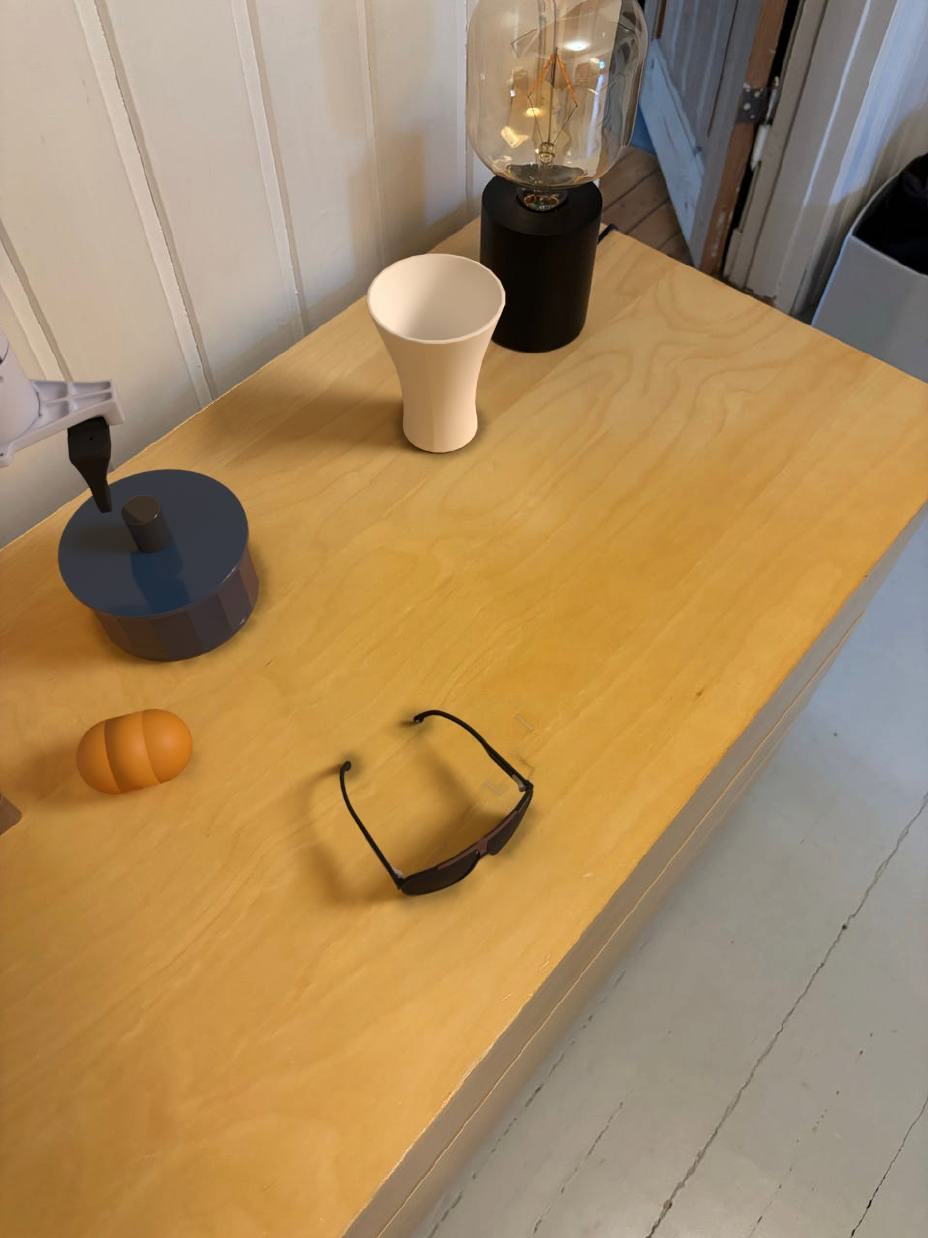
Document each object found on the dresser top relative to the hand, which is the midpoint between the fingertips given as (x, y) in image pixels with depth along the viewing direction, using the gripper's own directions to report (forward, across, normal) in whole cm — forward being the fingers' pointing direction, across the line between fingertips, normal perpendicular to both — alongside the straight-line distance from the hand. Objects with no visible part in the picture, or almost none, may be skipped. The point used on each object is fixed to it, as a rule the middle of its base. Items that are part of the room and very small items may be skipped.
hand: (47, 513), depth 63 cm
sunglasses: (+11, +20, -23) cm, 32 cm away
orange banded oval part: (+10, +2, -13) cm, 17 cm away
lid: (+4, +6, -1) cm, 7 cm away
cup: (+11, +30, +10) cm, 34 cm away
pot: (+10, +6, -1) cm, 12 cm away
